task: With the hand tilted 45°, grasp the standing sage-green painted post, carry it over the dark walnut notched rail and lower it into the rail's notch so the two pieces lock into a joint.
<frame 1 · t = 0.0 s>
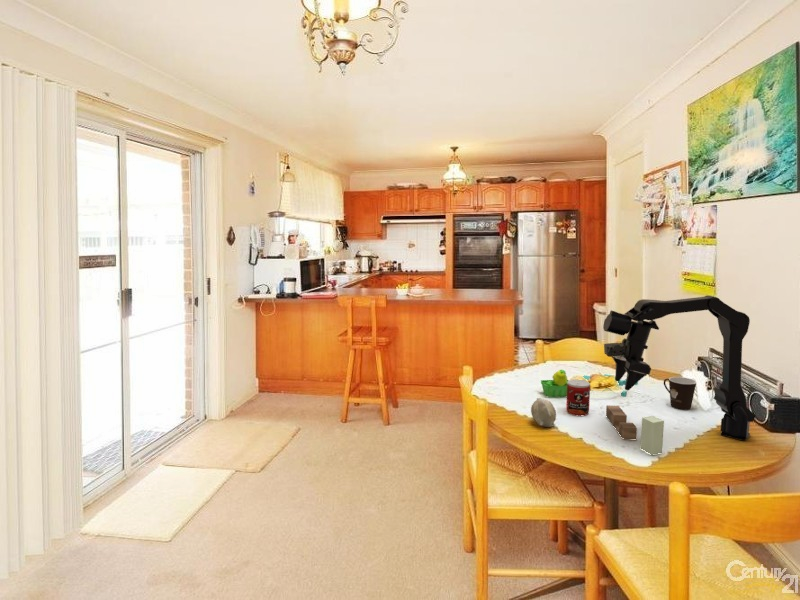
hand: (621, 385, 151), 15 cm above the table, tool pointing down, fingers open, 9 cm apart
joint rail: (622, 430, 154), on the table
post: (651, 451, 139), on the table
canned food: (577, 412, 171), on the table
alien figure: (605, 387, 199), on the table
grey faceted lump: (543, 424, 161), on the table
fruit basket: (557, 395, 188), on the table
coffee mug: (678, 405, 175), on the table
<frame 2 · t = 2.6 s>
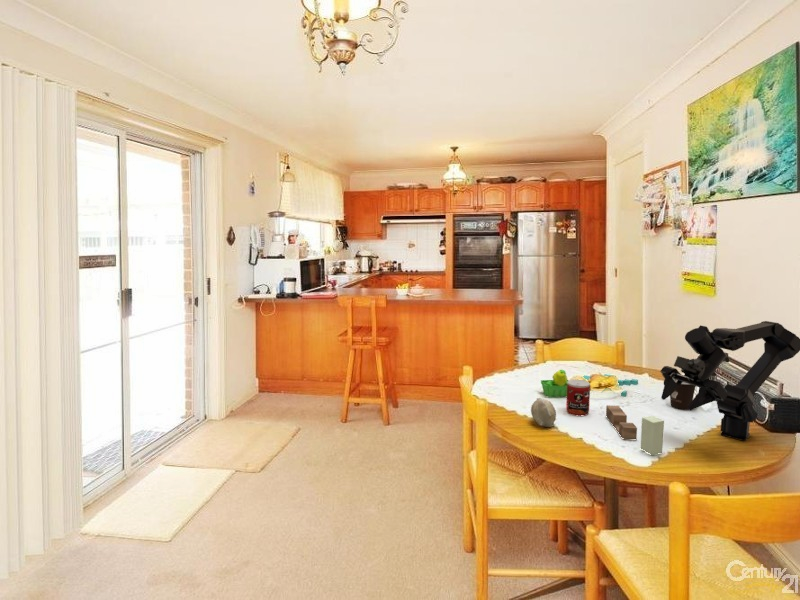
hand: (675, 404, 140), 13 cm above the table, tool tilted 45°, fingers open, 9 cm apart
nothing on the table moved.
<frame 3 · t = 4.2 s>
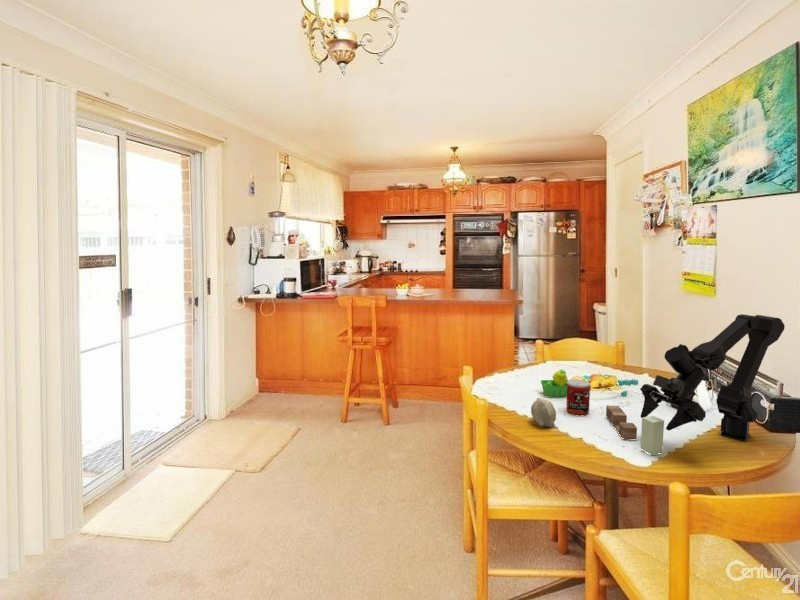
hand: (653, 423, 138), 9 cm above the table, tool tilted 45°, fingers open, 9 cm apart
nothing on the table moved.
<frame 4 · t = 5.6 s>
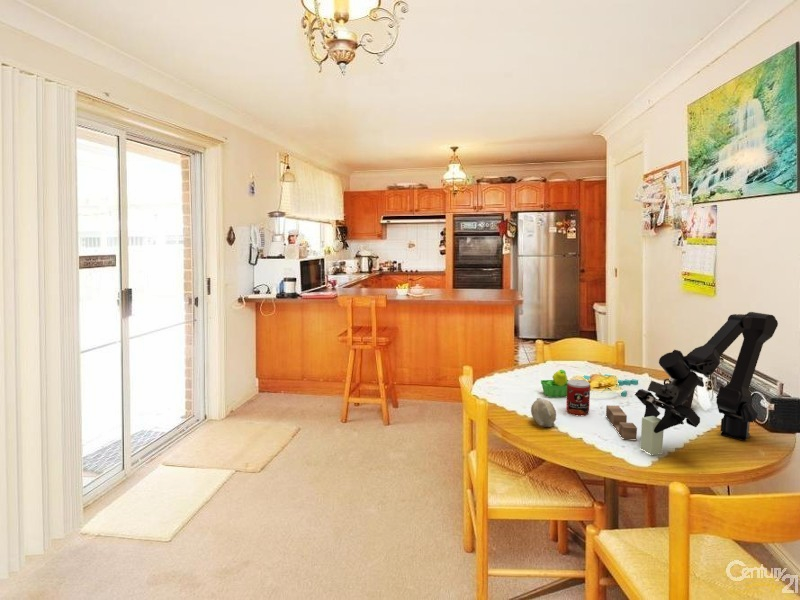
hand: (648, 429, 138), 7 cm above the table, tool tilted 45°, fingers closed on post, 4 cm apart
post: (651, 451, 139), on the table, touching gripper
everything else where it was.
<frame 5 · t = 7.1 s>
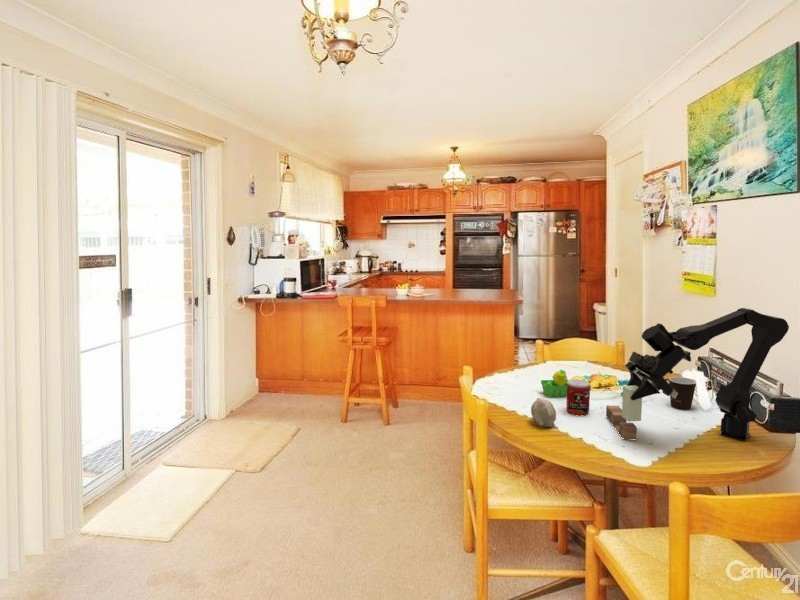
hand: (627, 396, 147), 13 cm above the table, tool tilted 45°, fingers closed on post, 4 cm apart
post: (631, 418, 148), point 6 cm above the table, touching gripper
everything else where it was.
when the fingers open (9 cm above the table, at t = 8.8 s): post drops 1 cm, resting on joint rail.
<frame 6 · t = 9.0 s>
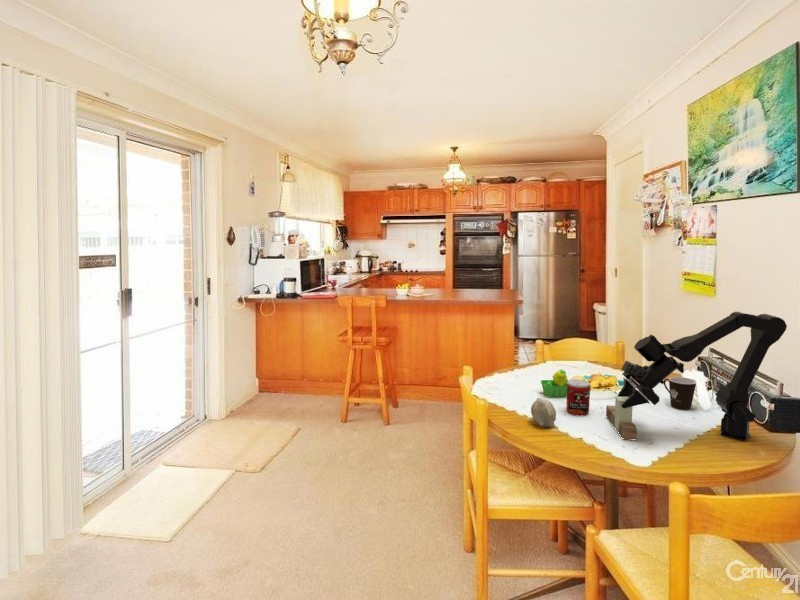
hand: (619, 403, 153), 9 cm above the table, tool tilted 45°, fingers open, 6 cm apart
post: (622, 428, 154), point 1 cm above the table, touching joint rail
everything else where it was.
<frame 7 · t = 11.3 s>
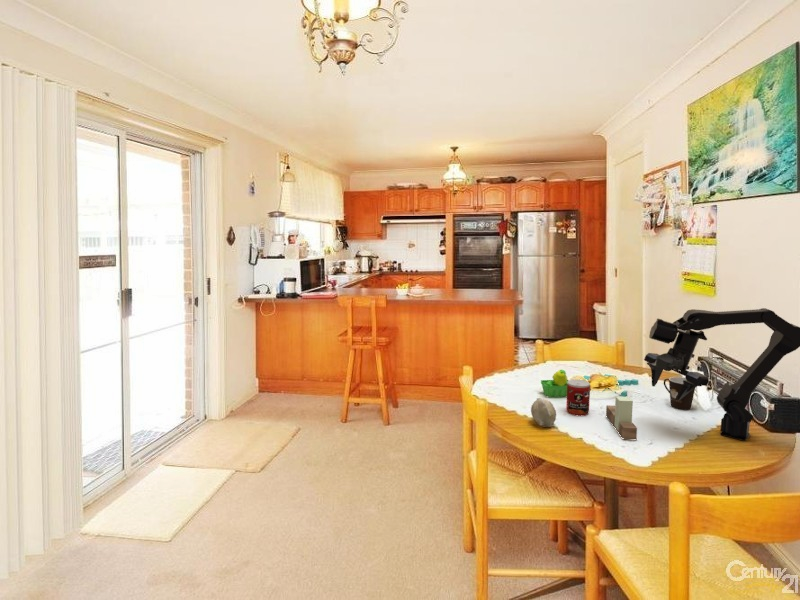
hand: (665, 392, 154), 12 cm above the table, tool tilted 15°, fingers open, 9 cm apart
nothing on the table moved.
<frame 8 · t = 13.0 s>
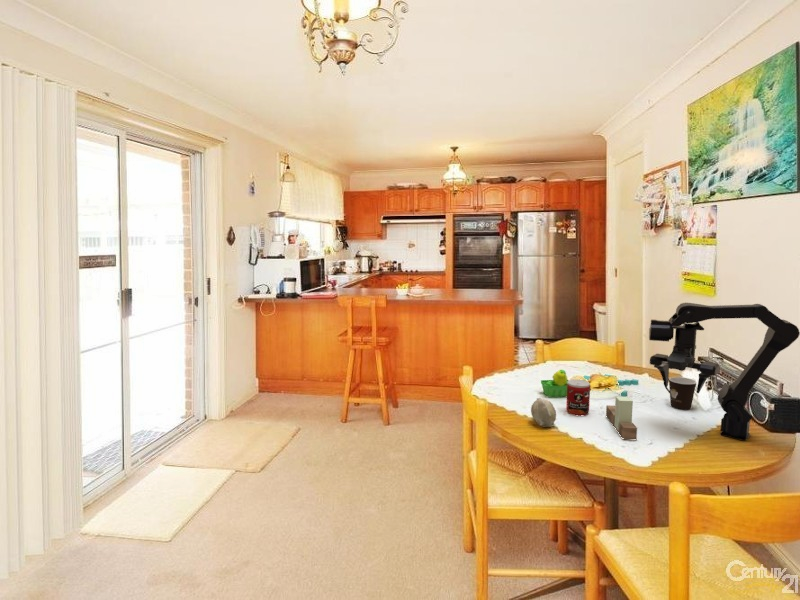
hand: (681, 389, 154), 13 cm above the table, tool pointing down, fingers open, 9 cm apart
nothing on the table moved.
at the end: post 0.0 cm off-centre on the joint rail, point 0.8 cm above the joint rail's base; post tilted 0°; the gripper is holding nothing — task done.
